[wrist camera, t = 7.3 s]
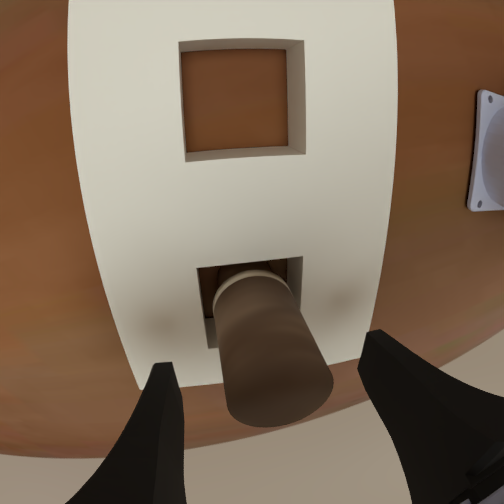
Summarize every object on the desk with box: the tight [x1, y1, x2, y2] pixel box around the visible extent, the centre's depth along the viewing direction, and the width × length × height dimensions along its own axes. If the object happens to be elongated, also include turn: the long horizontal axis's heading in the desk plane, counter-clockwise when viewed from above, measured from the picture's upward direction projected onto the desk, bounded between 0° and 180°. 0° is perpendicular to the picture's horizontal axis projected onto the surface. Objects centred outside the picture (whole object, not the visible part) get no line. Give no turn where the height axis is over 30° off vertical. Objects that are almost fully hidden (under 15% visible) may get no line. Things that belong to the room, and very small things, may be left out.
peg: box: [213, 261, 333, 427], centre depth 13 cm, size 4×4×8 cm
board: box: [68, 0, 398, 390], centre depth 14 cm, size 13×20×2 cm, turn 2°
